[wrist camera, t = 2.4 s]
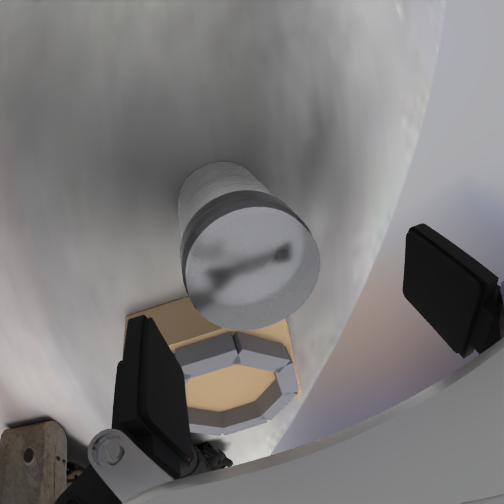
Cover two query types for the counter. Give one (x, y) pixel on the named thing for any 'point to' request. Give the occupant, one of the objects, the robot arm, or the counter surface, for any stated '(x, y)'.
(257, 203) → the lens
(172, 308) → the mount
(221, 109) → the counter surface
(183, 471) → the night vision scope
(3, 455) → the vintage camera
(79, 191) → the counter surface
